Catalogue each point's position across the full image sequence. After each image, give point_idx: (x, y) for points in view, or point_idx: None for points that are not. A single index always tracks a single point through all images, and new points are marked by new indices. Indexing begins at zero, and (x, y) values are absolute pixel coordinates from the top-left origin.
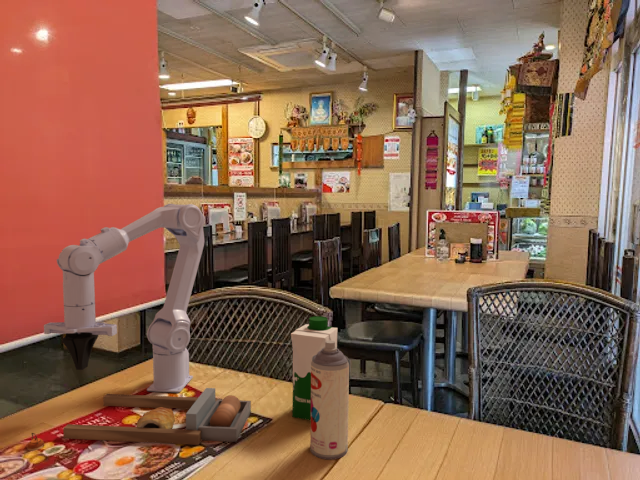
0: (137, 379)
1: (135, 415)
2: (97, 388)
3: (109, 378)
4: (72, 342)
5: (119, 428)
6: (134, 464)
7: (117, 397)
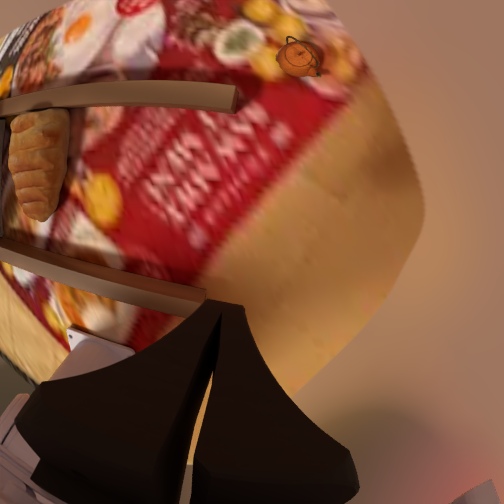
0: None
1: (101, 220)
2: None
3: None
4: (200, 440)
5: (83, 94)
6: (63, 24)
7: (156, 292)
